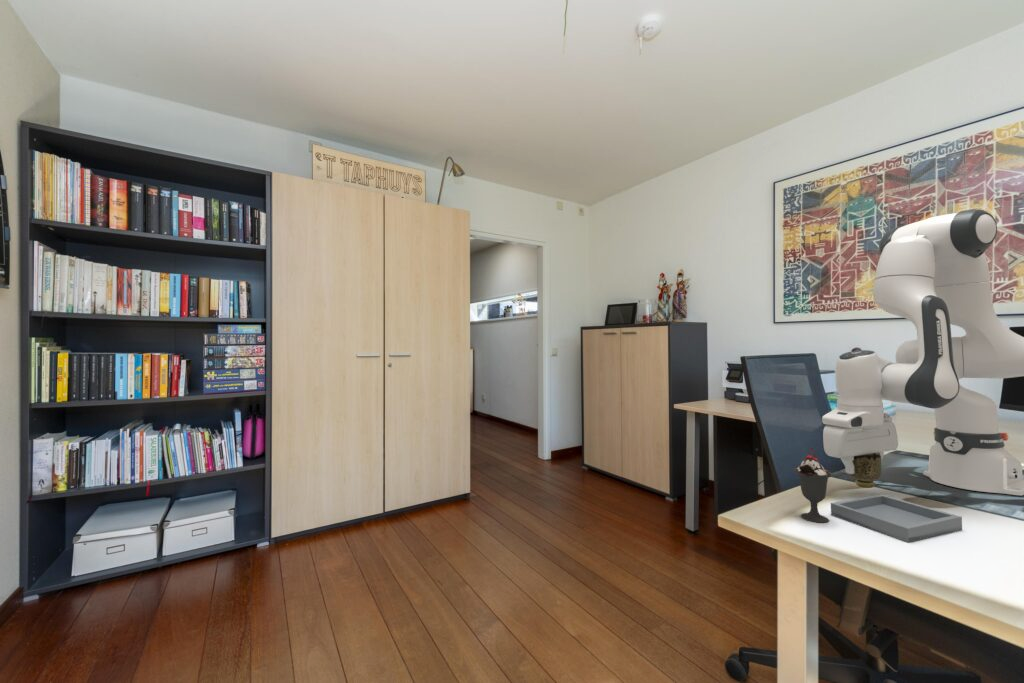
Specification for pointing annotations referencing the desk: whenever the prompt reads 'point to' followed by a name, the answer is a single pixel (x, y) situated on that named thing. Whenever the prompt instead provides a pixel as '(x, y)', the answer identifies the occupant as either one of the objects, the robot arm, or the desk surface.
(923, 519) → the tray
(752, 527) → the desk surface
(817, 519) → the sundae
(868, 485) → the cup
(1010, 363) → the robot arm
